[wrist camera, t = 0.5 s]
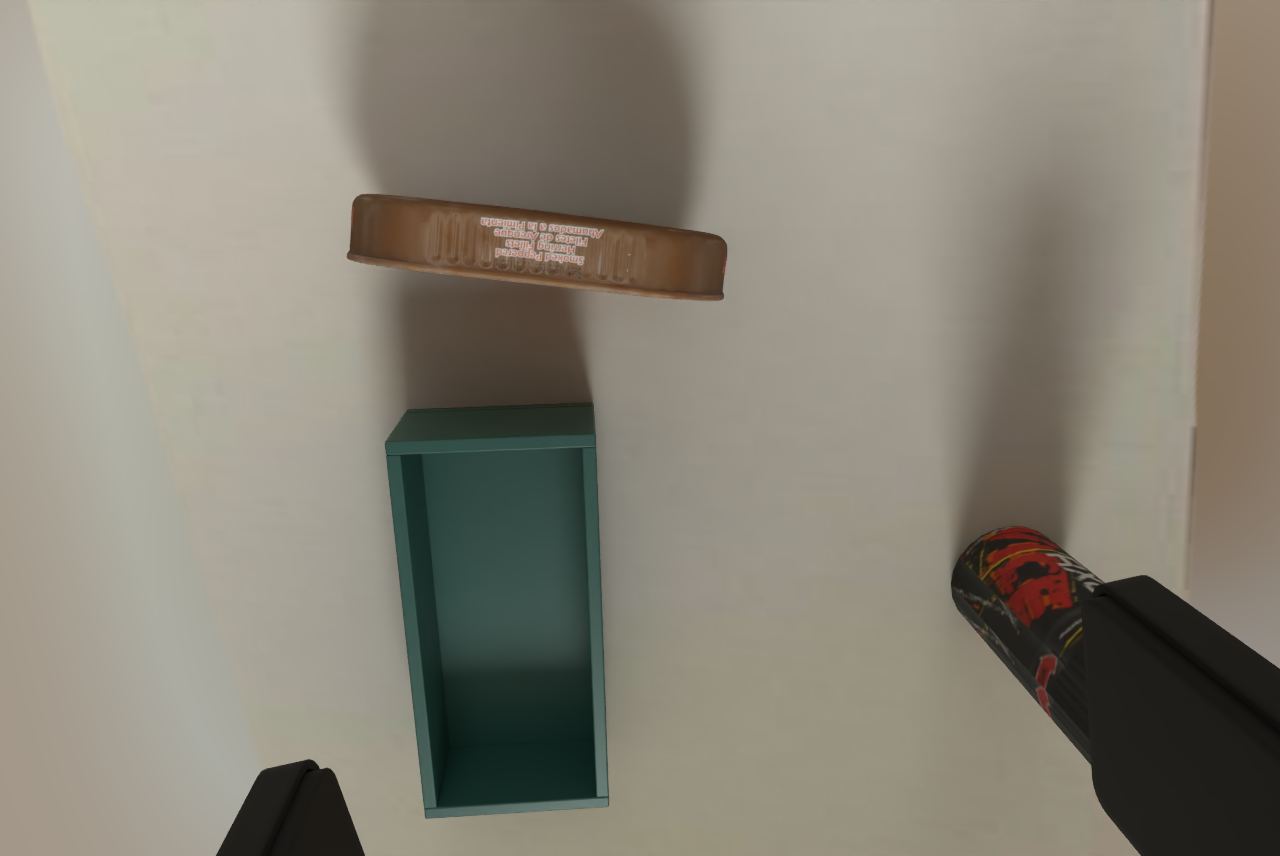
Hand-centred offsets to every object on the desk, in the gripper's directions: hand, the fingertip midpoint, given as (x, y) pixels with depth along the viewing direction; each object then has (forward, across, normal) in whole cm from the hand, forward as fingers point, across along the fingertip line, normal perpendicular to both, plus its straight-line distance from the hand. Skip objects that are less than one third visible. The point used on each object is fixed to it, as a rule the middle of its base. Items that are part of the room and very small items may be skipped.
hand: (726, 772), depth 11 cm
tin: (+32, +2, -5) cm, 32 cm away
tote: (+32, +8, +12) cm, 34 cm away
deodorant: (+32, -17, +17) cm, 40 cm away
